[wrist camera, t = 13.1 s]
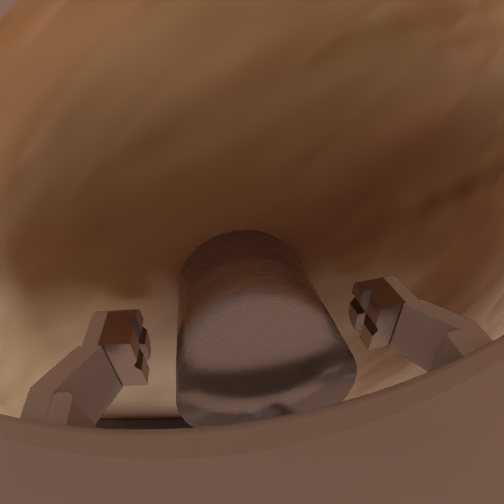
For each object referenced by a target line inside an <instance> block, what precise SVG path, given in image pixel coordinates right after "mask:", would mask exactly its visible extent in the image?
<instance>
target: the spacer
mask: <svg viewBox="0 0 504 504" xmlns="http://www.w3.org/2000/svg"><path fill="white" fill-rule="evenodd" d="M356 370H357V367H356V362H355V359H354V357H353V355H352V353H351V351H350V349H349V348H348V346H347V344H346V342H345V341H344V339H343V337H342V335H341V334H340V332H339V330H338V328H337V327H336V325H335V323H334V321H333V320H332V318H331V316H330V314H329V313H328V311H327V309H326V308H325V306H324V304H323V302H322V301H321V299H320V297H319V296H318V294H317V292H316V291H315V289H314V287H313V285H312V284H311V282H310V280H309V279H308V277H307V275H306V274H305V272H304V270H303V269H302V267H301V265H300V264H299V262H298V260H297V259H296V257H295V255H294V254H293V253H292V251H291V250H290V249H289V248H288V247H287V246H286V245H285V244H284V243H283V242H282V241H280V240H279V239H277V238H275V237H273V236H271V235H268V234H266V233H262V232H258V231H249V230H241V231H232V232H227V233H224V234H221V235H218V236H216V237H213V238H211V239H210V240H208V241H206V242H205V243H203V244H202V245H201V246H199V247H198V248H197V249H196V250H195V251H194V252H193V253H192V254H191V256H190V257H189V258H188V260H187V261H186V263H185V265H184V267H183V270H182V272H181V276H180V283H179V300H178V322H177V355H176V404H177V408H178V411H179V413H180V415H181V416H182V418H183V419H184V420H185V421H186V422H187V423H188V424H190V425H191V426H192V427H194V428H195V427H207V426H217V425H226V424H234V423H242V422H249V421H256V420H262V419H268V418H274V417H279V416H284V415H289V414H294V413H299V412H304V411H308V410H312V409H317V408H321V407H325V406H329V405H333V404H336V403H340V402H341V401H342V400H343V399H344V398H345V397H346V395H347V394H348V393H349V391H350V389H351V388H352V386H353V383H354V381H355V377H356Z"/></svg>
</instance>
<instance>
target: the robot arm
mask: <svg viewBox="0 0 504 504" xmlns="http://www.w3.org/2000/svg"><path fill="white" fill-rule="evenodd" d="M352 293H353V295H354V296H355V298H354V299H353V300H352V301H351V303H350V307H349V317H350V321H351V324H352V325H353V327H354V329H356V330H358V331H360V332H361V335H360V338H361V340H362V342H363V343H364V345H365V346H366V348H367V350H368V351H369V350H373V349H377V348H381V347H385V346H389V347H391V348H392V349H394V350H395V351H397V352H398V353H400V354H401V355H403V356H404V357H406V358H408V359H409V360H411V361H412V362H414V363H415V364H417V365H418V366H420V367H422V368H423V369H425V370H426V371H428V373H425V374H423V375H420V376H418V377H415V378H413V379H410V380H407V381H405V382H402V383H399V384H397V385H394V386H391V387H388V388H385V389H382V390H379V391H376V392H373V393H370V394H367V395H364V396H361V397H357V398H354V399H351V400H347V401H344V402H340V403H336V404H333V405H329V406H325V407H321V408H317V409H312V410H308V411H304V412H299V413H294V414H289V415H284V416H279V417H274V418H268V419H262V420H256V421H249V422H242V423H234V424H226V425H217V426H207V427H195V428H179V429H104V428H97V427H96V426H95V424H96V423H97V421H98V420H99V419H100V417H101V416H102V415H103V413H104V412H105V411H106V409H107V408H108V406H109V405H110V404H111V402H112V401H113V400H114V398H115V397H116V396H117V394H118V393H119V392H120V390H121V389H122V388H123V386H129V385H147V384H148V374H149V367H148V364H147V361H148V360H149V359H150V354H151V348H150V339H149V335H148V332H147V330H146V329H145V328H144V327H143V316H142V314H141V311H140V310H139V309H133V310H115V311H99V312H95V313H94V314H93V317H92V319H91V322H90V325H89V327H88V330H87V333H86V336H85V339H84V342H83V344H82V346H78V347H76V348H75V349H74V350H73V351H72V352H71V353H69V354H68V355H67V356H66V357H65V358H64V359H62V360H61V361H60V362H59V363H58V364H57V365H56V366H54V367H53V368H52V369H51V370H50V371H49V372H48V373H46V374H45V375H44V376H43V377H42V378H41V379H40V380H39V381H37V382H36V383H35V384H34V385H33V386H32V387H31V388H30V390H29V393H28V396H27V399H26V402H25V404H24V407H23V411H22V414H21V417H20V418H16V417H12V416H7V415H3V414H0V504H504V335H503V336H501V337H499V338H498V339H496V340H494V341H493V340H492V339H491V338H490V337H489V336H488V335H487V334H486V332H485V331H484V330H483V329H482V328H481V327H480V326H479V325H478V324H477V323H476V322H475V321H473V320H471V319H469V318H466V317H464V316H461V315H459V314H457V313H454V312H452V311H449V310H447V309H444V308H442V307H440V306H437V305H435V304H432V303H430V302H427V301H425V300H422V299H420V300H418V299H417V298H416V297H415V296H414V295H413V294H412V293H411V292H410V290H409V289H408V288H407V287H406V286H405V285H404V284H403V283H402V282H401V281H400V280H399V279H398V278H397V277H396V276H394V275H390V276H385V277H381V278H377V279H372V280H366V281H360V282H355V284H354V286H353V290H352Z"/></svg>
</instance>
